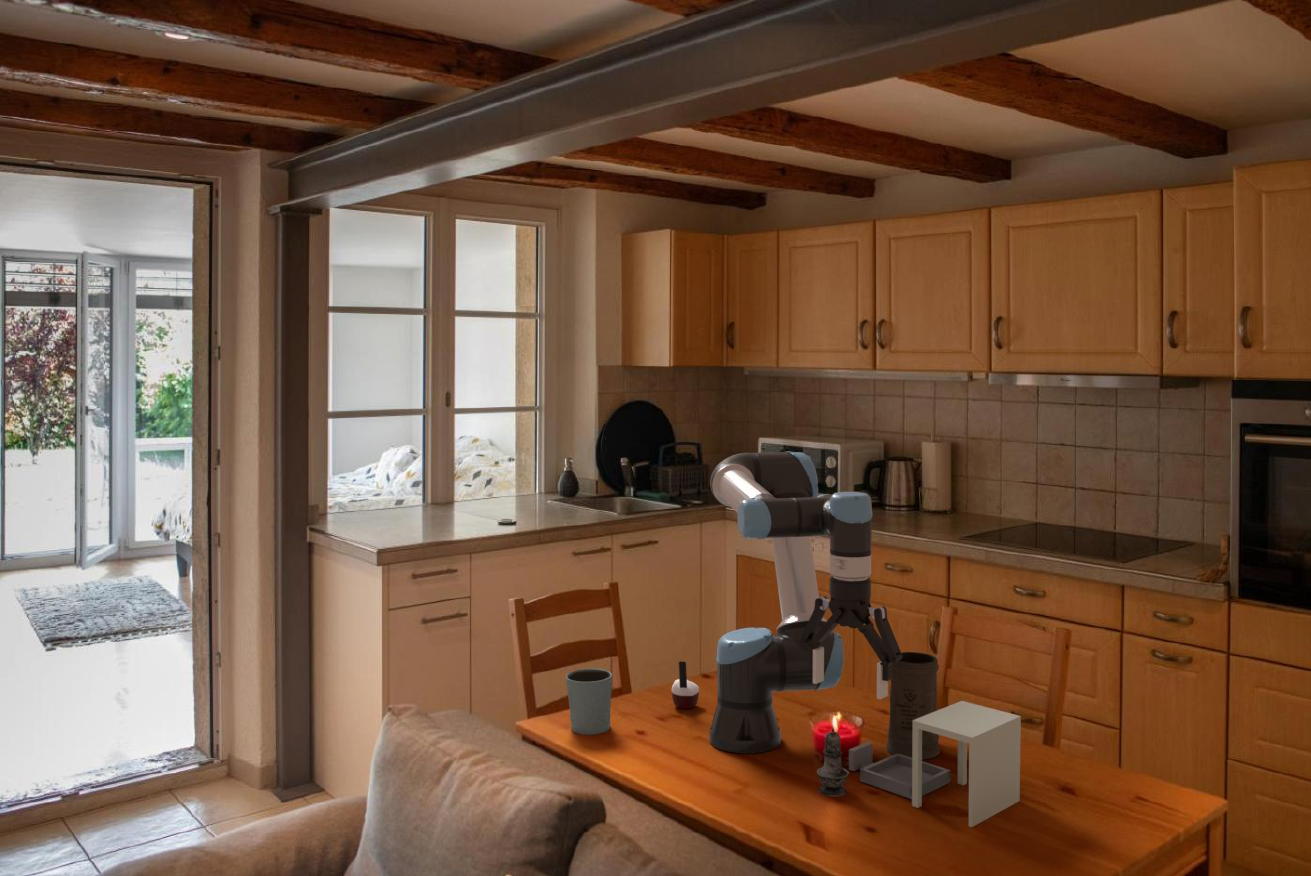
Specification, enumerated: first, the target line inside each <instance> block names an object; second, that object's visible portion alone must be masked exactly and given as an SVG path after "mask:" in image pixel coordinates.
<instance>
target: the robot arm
mask: <svg viewBox="0 0 1311 876" xmlns="http://www.w3.org/2000/svg"><path fill="white" fill-rule="evenodd" d="M709 479H710V481H709V485H710V490H711V493H712V495H713V497H714V498H715V499H716V500H717V501H718V502H719V503H720V504H722V505H724V506H725V507H726V506H727V507H730V508H732V509H733V510H734V511H735V512H736V514H737V526H738V527H737V528H738V529H739V530H738V531H739V534H740V535H741V537H743V538H745V539H756V540H762V539H771V543H772V544H771V545H772V552H773V558H774V559H773V561H774V566H775V575H776V582H777V590H778V595H779V596H778V597H779V606H780V614H781V622H780V623H779V625H778V626H777V627H776V635H774V634H773V631H771V630H770V629H769V628H766V627H757V628H756V627H744V628H739V629H735V630H731V631H730V632H727V633H725V634H723V635H722V636H721V637H720V638H719V640H718V643H717V648H716V649H717V651H716V658H715V660H716V669H717V671H716V682H717V684H716V685H717V689H716V690H717V692H716V694H717V700H716V701H717V705H716V708H715V711H714V715H713V719H712V722H711V725H710V727H709V734H708V735H709V739H708V740H709V743H710V745H712V746H713V747H714V748H716V749H718V750H721V751H725V752H729V753H735V754H758V753H759V754H760V753H765V752H768V751H769V752H770V751H772V750H774V749H777V748H778V747H779V746H780V745H781V743H782V731H781V728H780V726H779V724H778V720H777V716H776V713H775V709H774V706H773V693H775V692H777V693H778V692H792V691H794V692H795V691H796V692H797V691H812V690H813V691H818V690H823V689H824V690H825V689H830V688H831V689H832V688H834V687H836V685H837V684H838V683H839V682H840V679H841V677H842V672H843V669H844V661H845V657H844V656H845V655H844V654H845V653H844V643H843V639H842V636H841V634H840V633H839V632H836V631H834V629H836V628H837V626H838V625H839V627H849V628H850V629H854V630H855V629H857V630H858V632H860V633H861V634H863V637H864V638H865V639H866V641H867V642H868V644H869V645H870V647H871V648H872V649H873V651H874V653H875V654H876V657H877V658H878V659H879V660H880V661H879V662H877V663H876V699H877V700H882V699H884V698H886V697H888V696H889V691H888V690H889V681H891V678H892V663H893V662H896V661H898V660H901V659H902V657H903V656H902V653H901V652H902V651H901V649H900V646H899V644H898V642H897V639H896V636H895V634H894V632H893V629H892V626H891V624H890V622H889V620H888V611H887V608H886V607H885V606H884V605H883V606H879V607H872V605H871V597H872V580H871V578H870V576H871V575H872V536H873V535H872V532H873V530H872V527H873V521H872V520H873V514H874V513H873V507H872V506H873V505H872V497H871V496H870V495H869V494H868V493H866V492H859V491H839V492H834V493H833V494H829V493H827V494H825V493H823V494H820V495H818V494H819V487H818V486H819V485H818V484H819V478H818V474H817V470H816V467H815V464H814V463H813V461H812V459H811V458H810V456H809V455H807V454H806V453H804V452H800V451H799V452H798V451H797V452H795V451H788V450H787V451H783V452H782V451H781V452H780V451H778V452H777V451H775V452H774V451H773V452H742V453H737V454H734V455H731V456H728V457H727V458H725V459H723V460H722V461H721V462H719V463H718V464H717V465H716V466H715V467H714V469H713V471H712V473H711V475H710V478H709ZM811 537H829V574H830V575H831V577H830V578H829V596H830V598H829V599H828V597H827V596H825V595H824V596H821V597H820V595H819V594H820V593H819V589H818V588H819V587H818V582H817V580H818V579H817V575H816V573H817V572H816V568H815V562H814V561H815V560H814V555H813V547H812V541H811ZM828 609H829V610H830V613H831V615H830V617H828V619H826V618H825V617H824V615H825V614H826V611H827V610H828ZM870 616H871V617H872V619H873V620H874V623H875V625H876V626H875V625H874V623H873V621H872V620H871V618H870ZM874 626H875V627H876V628H877V630H876V628H875V627H874Z"/></svg>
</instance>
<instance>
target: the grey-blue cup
mask: <svg viewBox="0 0 1311 876" xmlns="http://www.w3.org/2000/svg"><path fill="white" fill-rule="evenodd" d="M565 683H566V688H567V689H566V690H567V696H568V697H567V698H568V706H569V710H570V711H569V716H570V726H571V731H573V732H574V733H576V734H579V735H583V736H584V735H587V736H592V735H594V736H595V735H599V734H600V735H601V734H603V733H607V732H608V731H609V730H610V728H611V708H612V699H611V698H612V696H611V695H612V689H613V688H612V684H613V673H612V672H611V671H609V670H607V669H603V668H581V669H577V670H572V671H570V672H568V673H567V674H566V676H565Z"/></svg>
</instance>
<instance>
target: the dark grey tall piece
mask: <svg viewBox="0 0 1311 876" xmlns="http://www.w3.org/2000/svg"><path fill="white" fill-rule="evenodd" d="M830 730H831V731H830V732H828V733H826V734H825V735H824V749H823V751H822V753H823V754H824V763H823V766H821V767H820V768H817V770H816V774H817V776H818V779H819V781H820V783H821V784H822V785H821V786H819V787H818V793H819V794H821V795H824V796H827V797H843V796H845V795H846V794H847V793H848V789H847V788H846V787H844V785H845V784H846V781H847V779H848V777H849V774H850V772H849V771H848V770H847V769H845V768H844V767H843V766H842V755H843V751H842V750H841V745H842V743H841V735H840V734H839V733H838V732H836V731H835V729H834V727H832V728H831V729H830Z"/></svg>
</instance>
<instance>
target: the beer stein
mask: <svg viewBox="0 0 1311 876" xmlns="http://www.w3.org/2000/svg"><path fill="white" fill-rule="evenodd" d="M901 653H902V656H903V657H902V659H901V660H898V661H896V662H893V663H892V678H891V680H890V689H889V724H888V729H887V733H886V734H887V741H886V747H885V748H886V750H887V752H888V753H890V754H891V755H895V754H897V753H898V754H901V755H904V756H908V757H911V758H912V735H913V720H915V719H917V718H920V717H922V716H925V715H927V714H930V713H932V712H935V711H937V710H938V698H937V696H938V694H937V693H938V691H937V688H938V687H937V684H938V683H937V681H938V679H937V676H938V675H937V673H938V671H939V668H940V666H939V663H938V661H939V659H938V658H937V657H936V656H934V655H932V654H928V653H925V652H916V651H903V652H902V651H901ZM939 739H940V735H938V734H935V733H931V732H928V731H925V730H922V760H929V759H933V758H936V757H938V756H939V754H940V753H941V748H940V744H939Z"/></svg>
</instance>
